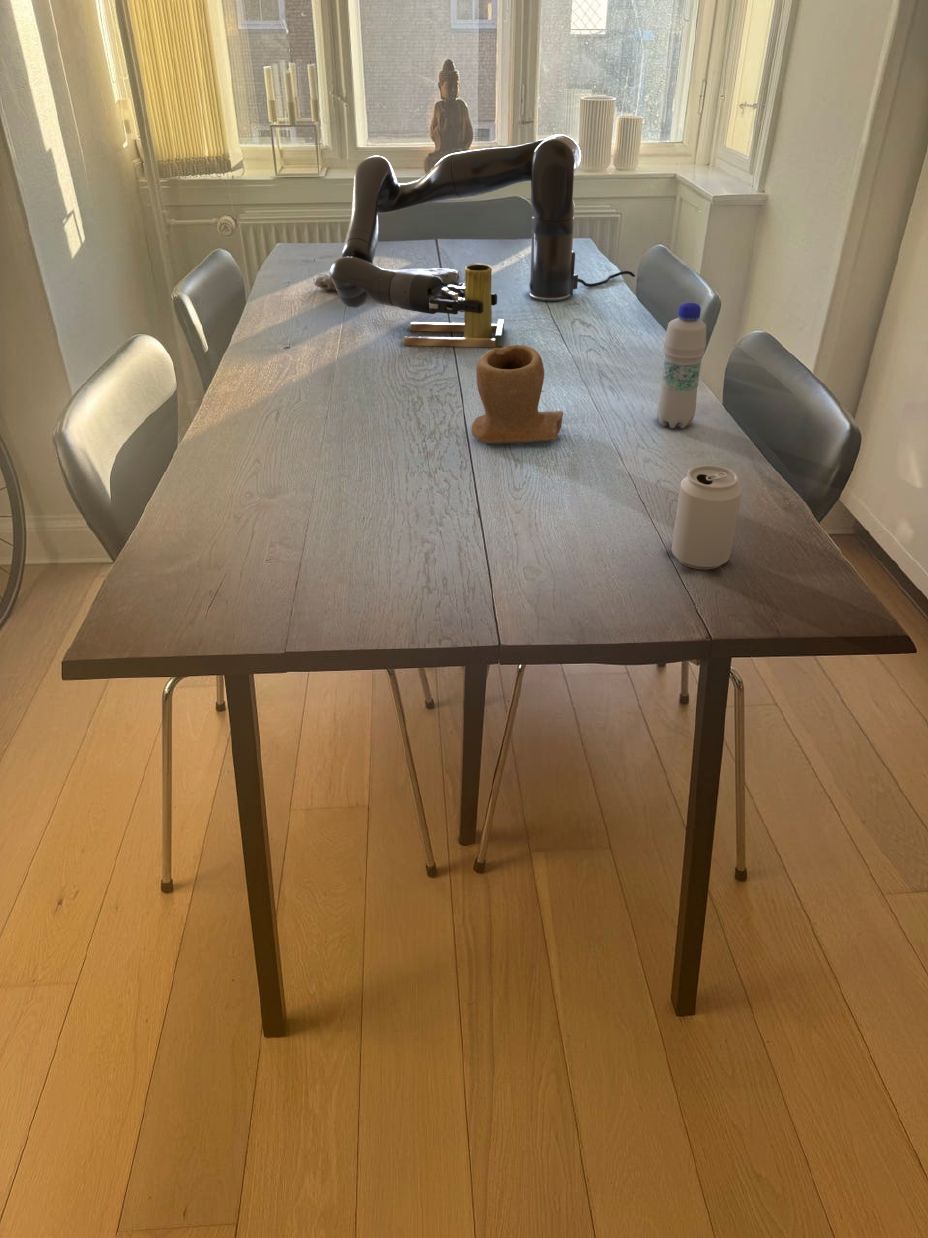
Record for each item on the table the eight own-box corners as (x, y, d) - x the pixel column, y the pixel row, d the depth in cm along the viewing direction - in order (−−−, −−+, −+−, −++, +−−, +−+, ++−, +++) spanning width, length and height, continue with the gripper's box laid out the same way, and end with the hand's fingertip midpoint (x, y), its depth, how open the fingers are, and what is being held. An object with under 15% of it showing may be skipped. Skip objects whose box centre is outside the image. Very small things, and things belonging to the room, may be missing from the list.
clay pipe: (471, 455, 149) (471, 362, 141) (471, 424, 159) (471, 336, 151) (567, 455, 149) (573, 362, 141) (561, 424, 159) (566, 335, 150)
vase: (493, 334, 197) (495, 263, 189) (491, 344, 192) (492, 271, 184) (464, 333, 198) (464, 262, 190) (461, 342, 193) (461, 270, 185)
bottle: (697, 418, 161) (714, 298, 150) (691, 433, 156) (709, 311, 144) (657, 413, 163) (671, 294, 151) (650, 428, 158) (665, 306, 146)
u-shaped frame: (404, 345, 192) (404, 332, 191) (411, 328, 201) (410, 316, 199) (501, 347, 191) (501, 335, 189) (503, 331, 199) (504, 319, 198)
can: (664, 544, 126) (675, 462, 120) (719, 541, 127) (733, 459, 120) (679, 574, 120) (691, 489, 113) (737, 571, 121) (753, 486, 114)
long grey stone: (463, 293, 226) (456, 284, 234) (464, 270, 223) (457, 261, 232) (314, 292, 220) (313, 283, 228) (313, 269, 217) (312, 260, 226)
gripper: (398, 282, 189) (473, 293, 183) (433, 265, 200) (505, 275, 193) (399, 319, 193) (472, 332, 187) (434, 301, 204) (505, 312, 197)
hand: (489, 303), depth 190 cm, fingers closed on vase, 5 cm apart
